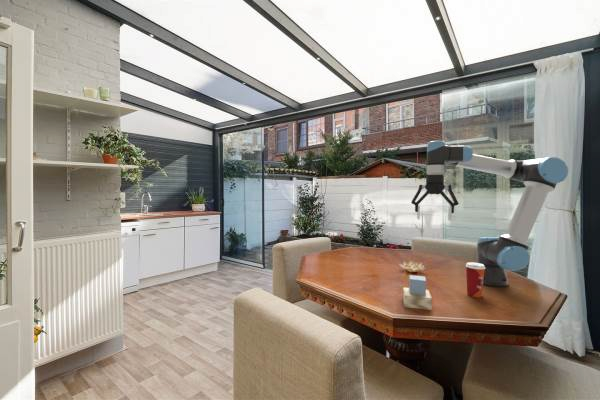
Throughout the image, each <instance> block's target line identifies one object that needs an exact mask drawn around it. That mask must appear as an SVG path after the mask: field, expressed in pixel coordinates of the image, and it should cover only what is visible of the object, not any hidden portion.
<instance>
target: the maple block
mask: <svg viewBox="0 0 600 400" xmlns="http://www.w3.org/2000/svg"><path fill="white" fill-rule="evenodd" d="M430 293H431V292H430V291H429V289H426V296H424V295H415V294H410V293H409V287H403V288H402V301H403V306H404V308H411V309H419V310H428V311H432V307H433V306H432V305H433V303H432V301H433V298H432V295H431V294H430Z"/></svg>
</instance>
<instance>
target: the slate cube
mask: <svg viewBox="0 0 600 400" xmlns="http://www.w3.org/2000/svg"><path fill="white" fill-rule="evenodd" d="M408 288H409V293H410V294H415V295H424V296H426V290H427V279H426V276H423V275H413V274H409V286H408Z"/></svg>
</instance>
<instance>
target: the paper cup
mask: <svg viewBox="0 0 600 400" xmlns="http://www.w3.org/2000/svg"><path fill="white" fill-rule="evenodd" d="M465 269H466V294H467V295H468V296H469V297H472V298H473V297H474V298H482V296H483V289H484V288H483V287H484V284H483V280H484V270H485V266H484V265H483V264H480V263H477V262H473V261H472V262H467V263H466V264H465Z"/></svg>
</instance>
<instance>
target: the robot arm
mask: <svg viewBox="0 0 600 400" xmlns="http://www.w3.org/2000/svg"><path fill="white" fill-rule="evenodd" d="M445 166H452V167H458V168H462V169H467V170H474V171H478V172H483V173H489V174H494V175H497V176H503V177H504V178H505V179H509V180H512V181H516V182H521V183H523V185H524V186H525V188H524V189H523V193H522V194H521V196H520V199H519V201H518V204H517V205H516V208H515V211H514V213H513V215H512V217H511V219H510V222H509V224H508V227H507V229H506V231H505V233H504V234H501V235H500V236H499V237H491V236H490V237H489V236H488V237H487V236H486V237H485V236H483V237H482V236H480V237H478V238H477V243H476V248H477V249H476V252H477V253H476V263H480V264H483V265H484V266H485V270H484V280H483V286H491V287H507V286H508V284H509V283H508V281H509V280H508V278H507V274H506V271H507V270H508V271H509V272H510V271H512V272H518V271H520V270H524V269H525V267H527V266H528V265H529V262H530V260H531V259H530V254H529V252H528V249H529V247H530V245H529V244H528V239H529V237H530V234H531V233H532V231H533V228H534V226H535V223H536V221H537V219H538V217H539V215H540V212H541V210H542V208H543V206H544V203H545V201H546V199H547V196H548V194H549V193H550V192H554V191H555V188H556V186H557V185H558V184H560V183H561V182H563V181H565V180H566V179H567V177H568V175H569V167H568V165H567V164H566V162H565V161H564V160H563V159H561V158H559V157H557V156H545V157H540V158H534V159H526V160H525V159H524V160H516V159H509V160H505V159H501V158H495V157H494V158H493V157H490V156H485V155H480V154H474V150H473V148H472V146H470V145H446V142H445V141H444V140H432V141H429V142H428V143H427V148H426V177H425V179H426V181H425V185H423V184H419V185H418V189H417V191H416V192H415V195H414V196H413V198H412V200H411V202H410V203H411V204H412V205H414V211H415V212H414V213H417V217H416V218H417V220H420V219H421V218H420V216H421V215H420V214H421V213H420V212H421V210H420V209H421V205H420V204H421V203H422V201H423V200H425V198H426V197H427V196H428V195H429V194H430V195H441V196H442V197H443V198H444V200H446V203H448V204H449V205H448V212H447V213H448V215H447V216H448V217H447V218H448V219H447V220H448V221H450V222H451V221H452V214H454V213H455V206H458V205H459V201H458V200H457V197H456V195H455V193H454V192H453V190H452V185H451V184H446V185H445V181H444V180H445V176H444V174H445ZM424 189H425V190H426V191H425V192H424V193H423V195H422V196H421V197H420V198H419V199H418V197H419V195H420V194H421V192H422V190H424ZM444 189H445V190H447V191H448V193H449V195H450V197H451V199H450V197H448V196H447V194H446V193H445V192H444ZM417 199H418V200H417ZM505 270H506V271H505Z"/></svg>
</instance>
